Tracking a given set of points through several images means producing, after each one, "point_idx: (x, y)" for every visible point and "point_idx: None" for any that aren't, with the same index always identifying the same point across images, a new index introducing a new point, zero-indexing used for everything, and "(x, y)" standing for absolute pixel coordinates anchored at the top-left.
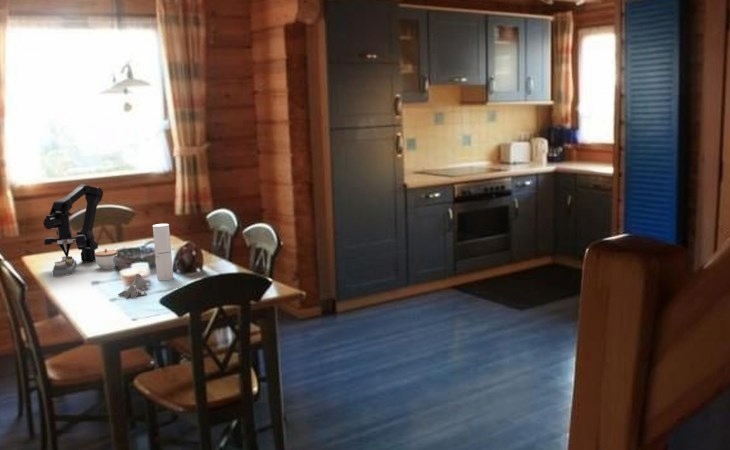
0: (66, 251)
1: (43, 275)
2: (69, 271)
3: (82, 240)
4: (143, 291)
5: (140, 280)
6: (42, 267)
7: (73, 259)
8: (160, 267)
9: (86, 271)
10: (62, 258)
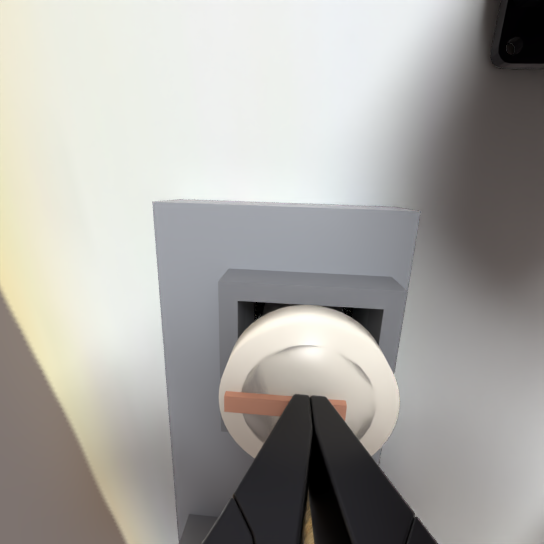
0: (309, 467)
1: (120, 494)
2: None
3: None
4: None
5: None
6: (2, 137)
7: (394, 368)
8: None
9: (462, 535)
10: (234, 425)
